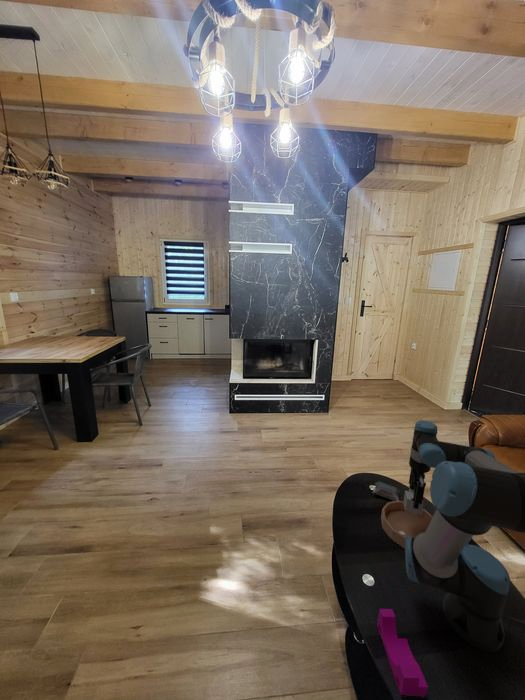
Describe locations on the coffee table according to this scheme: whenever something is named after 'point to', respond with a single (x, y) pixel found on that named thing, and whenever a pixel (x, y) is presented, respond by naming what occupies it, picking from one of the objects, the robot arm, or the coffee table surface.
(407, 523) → the bowl
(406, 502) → the grey cube
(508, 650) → the coffee table surface
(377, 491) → the packaged food
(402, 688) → the toy block
